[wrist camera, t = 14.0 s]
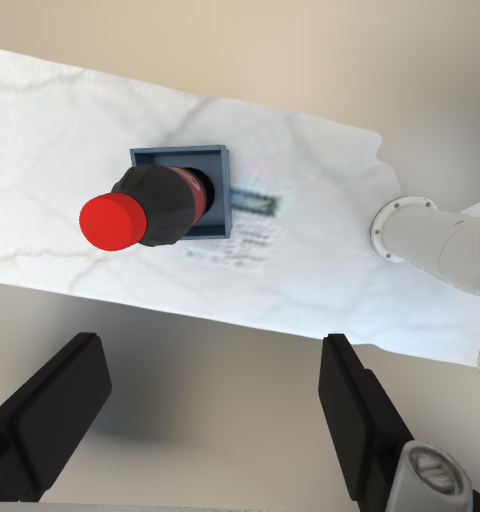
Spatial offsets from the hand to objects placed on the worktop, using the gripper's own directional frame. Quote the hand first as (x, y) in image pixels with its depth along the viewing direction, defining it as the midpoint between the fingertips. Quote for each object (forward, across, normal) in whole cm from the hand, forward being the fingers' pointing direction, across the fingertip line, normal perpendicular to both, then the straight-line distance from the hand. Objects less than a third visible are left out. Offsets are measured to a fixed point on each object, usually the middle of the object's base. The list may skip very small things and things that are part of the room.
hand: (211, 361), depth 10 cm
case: (+38, +9, -4) cm, 39 cm away
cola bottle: (+38, +9, -4) cm, 39 cm away
